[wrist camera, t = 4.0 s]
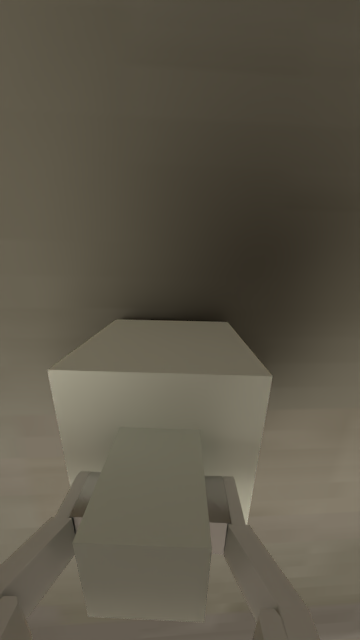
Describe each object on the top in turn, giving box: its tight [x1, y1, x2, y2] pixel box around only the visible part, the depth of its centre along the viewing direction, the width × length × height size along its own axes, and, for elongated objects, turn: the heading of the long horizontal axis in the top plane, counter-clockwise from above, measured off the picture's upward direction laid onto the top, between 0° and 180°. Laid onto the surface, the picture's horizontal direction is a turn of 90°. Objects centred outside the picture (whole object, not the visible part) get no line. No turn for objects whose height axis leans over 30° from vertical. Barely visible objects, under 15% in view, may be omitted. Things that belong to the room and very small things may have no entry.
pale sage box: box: [47, 319, 273, 622], centre depth 12 cm, size 10×10×13 cm
